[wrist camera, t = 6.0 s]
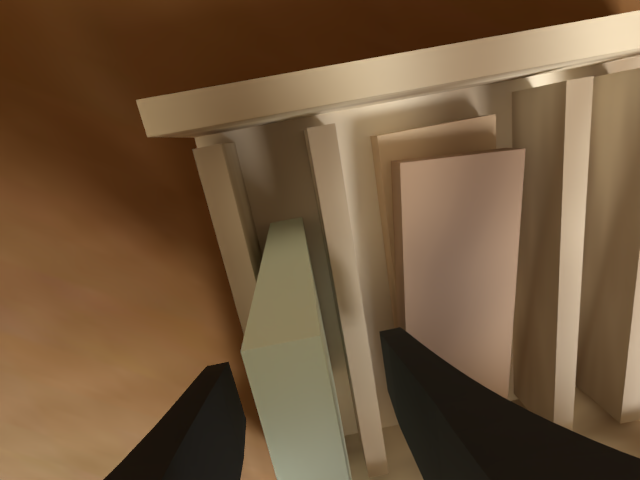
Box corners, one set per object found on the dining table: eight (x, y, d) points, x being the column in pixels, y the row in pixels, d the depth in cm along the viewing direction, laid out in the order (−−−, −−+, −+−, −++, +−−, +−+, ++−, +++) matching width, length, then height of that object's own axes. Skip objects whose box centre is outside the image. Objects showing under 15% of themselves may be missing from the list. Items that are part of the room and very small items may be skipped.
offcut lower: (479, 115, 12) (495, 113, 11) (488, 388, 16) (501, 404, 15) (370, 136, 12) (377, 135, 11) (404, 405, 16) (411, 423, 15)
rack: (628, 35, 12) (813, -21, 8) (598, 384, 17) (706, 470, 13) (192, 114, 12) (135, 99, 8) (283, 451, 17) (281, 564, 12)
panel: (302, 216, 13) (320, 334, 5) (332, 372, 15) (378, 622, 7) (270, 223, 13) (240, 351, 5) (305, 377, 15) (321, 635, 7)
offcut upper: (506, 147, 12) (525, 148, 11) (493, 389, 15) (507, 407, 14) (390, 160, 11) (400, 162, 10) (400, 403, 14) (409, 422, 13)
